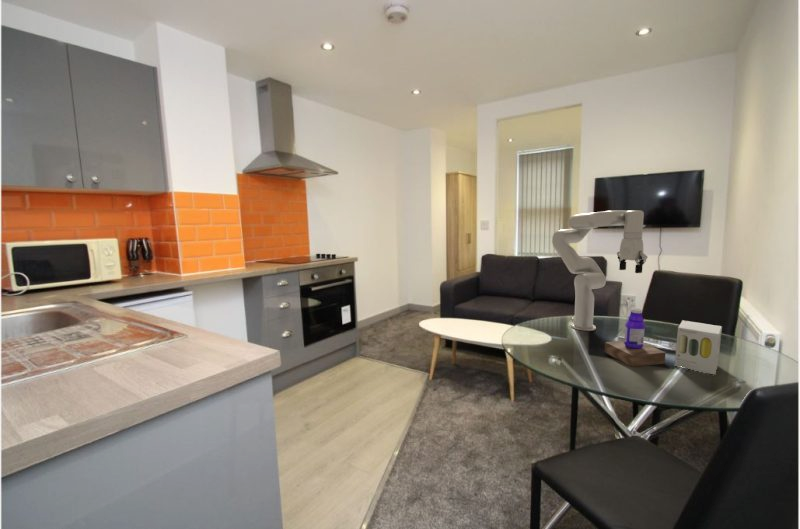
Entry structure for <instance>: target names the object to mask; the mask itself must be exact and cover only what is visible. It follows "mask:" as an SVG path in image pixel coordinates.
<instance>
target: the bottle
mask: <svg viewBox="0 0 800 529" xmlns="http://www.w3.org/2000/svg"><path fill="white" fill-rule="evenodd" d="M627 318H628V320H627V321H626V323H625V325H624V336H623V337H624V339H623V341H624V344H625V345H626V346H627V347H629V348H642V347H643V343H645V342H644V341H645V331H646V325H645V324H644V321H645V320H644V318H643V310H642V309H641V308H636V307H635V308H631V309H630V314H629V316H628V317H627Z"/></svg>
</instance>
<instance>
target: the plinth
mask: <svg viewBox="0 0 800 529" xmlns="http://www.w3.org/2000/svg"><path fill="white" fill-rule="evenodd" d="M604 353H605V354H606V355H608V356H611V357H613V358H615V359H616V360H619V361H620V362H621V363H624V364H626V365H627V366H630V367H632V368H633V367H642V366H643V367H644V366H651V365H652V366H653V365H659V364H660V365H662V364H665V362H666V351H664V350H661V349H659V348H657V347H654V346H652V345H649V344H647V343H645V342H644V343H643V347H642V348H629V347H627V346H626V345H625V344H624V340H615V341H605V342H604Z"/></svg>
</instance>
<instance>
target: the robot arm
mask: <svg viewBox="0 0 800 529" xmlns="http://www.w3.org/2000/svg"><path fill="white" fill-rule="evenodd" d="M644 217H645V213H644V211H643V210H625V209H624V210H622V209H621V210H618V209H617V210H605V211H604V210H603V211H597V212H588V213H587V212H586V213H578V214H574V215H571V216H570V217H569V219H568V221H567V223H568V227H570V228H566V229H564V228H563V229H559V230H557V231H555V232H554V233H553V235H552V237H551V241H552V247H553V248H554V250H555V251H556V253H557V254H558V255H559V256H560V258H561V259H562V261H563V264H564V265H565V266H566V268H567V270H568V271H569V272H570V273H571V274H574V275H575V274H576V276H575V277H574V279H573V284H574V292H575V295H574V296H575V297H574V298H575V300H574V316H573V317H571V320H572V323H571V324H570V327H571V328H572V329H575V330H578V331H585V332H591V331H595V330H596V329H597V327H596V325H594V311H595V310H594V309H595V295H594V293H593V290H595V289H596V290H597V289H602V288H603V287H604V286H605V285H606V283H607V278H606V275H605V274H604V272H603V271H602V270H601V268H600V267H599V265H598V264H597V262H596V261H595V260H594V259H593V258H592V257H590V256H580V255H579V254H578V253H577V251H576V249H575V248H573V247H572V246H571V245H569V244H577V243H580V242H582V241H583V239H584V238H585V237H586V236H587V235H588V233H590V231H592V229H598V228H600V227H601V228H602V227H614V226H615V227H617V226H619V227H620V226H623V234H622V235H623V238H622V239H621V242H620V245H619V251H618V252H616V255H617V259H618V262H619V268H618V269H619V270H620V271H626V270H627V260H628V261H634V262H635V263H636V264H635V267H634V268H635V271H634V273H635V274H642V273H643V265H644V264H645V263H646V262H647V259H648V255H646V254H645V253H644V241H643V229H644ZM619 270H618V271H619Z"/></svg>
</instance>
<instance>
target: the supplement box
mask: <svg viewBox="0 0 800 529" xmlns="http://www.w3.org/2000/svg"><path fill="white" fill-rule="evenodd" d="M722 330H723V326H721V325H713V324H708V323H702V322H696V321H689V320H683V319H682V320H681V322H680V324H679V326H678V327H677V336H676V346H675V355H674V356H675V358H674V367H675V366H682V367H685V368H688V369H691V370H690V371H692V370H694V371H693V372H696V371H699V372H698V373H701V372H703V373H702V374H705V373H710V374H715V375H716V374H717V371H716V370H717V369H718V367H719V358H720V349H721V342H722V341H721V338H722ZM717 366H718V367H717ZM688 369H687V370H688Z"/></svg>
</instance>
